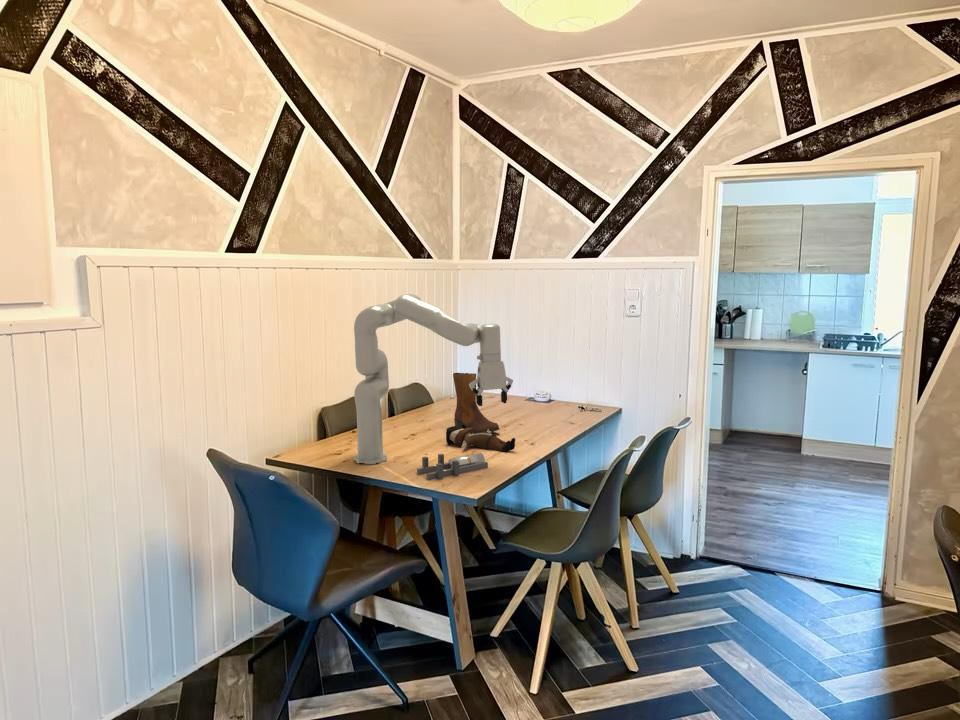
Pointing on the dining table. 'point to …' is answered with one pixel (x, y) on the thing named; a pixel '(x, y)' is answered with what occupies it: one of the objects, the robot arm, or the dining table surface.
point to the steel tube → (467, 460)
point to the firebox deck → (447, 469)
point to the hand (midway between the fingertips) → (492, 404)
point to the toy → (478, 439)
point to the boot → (469, 406)
